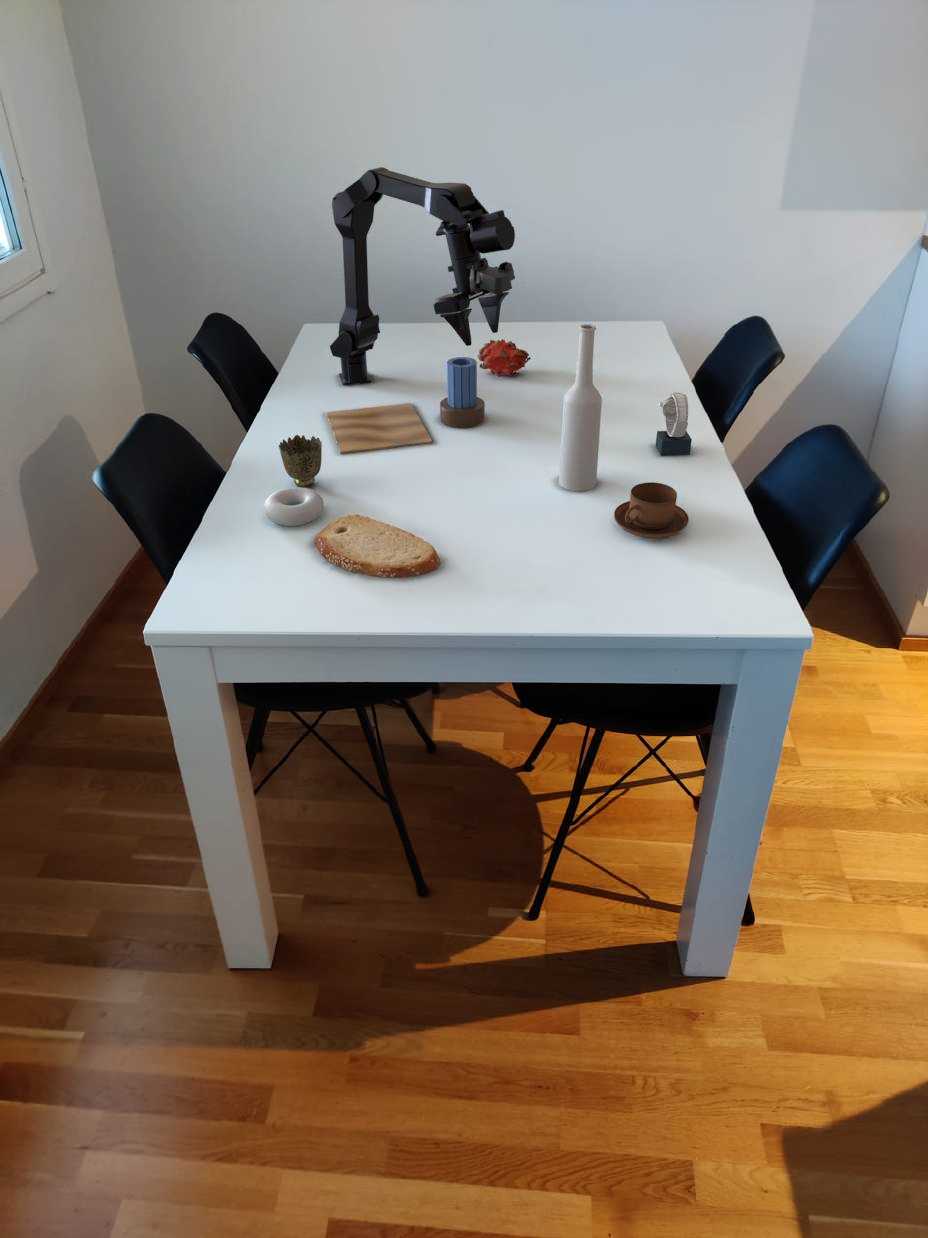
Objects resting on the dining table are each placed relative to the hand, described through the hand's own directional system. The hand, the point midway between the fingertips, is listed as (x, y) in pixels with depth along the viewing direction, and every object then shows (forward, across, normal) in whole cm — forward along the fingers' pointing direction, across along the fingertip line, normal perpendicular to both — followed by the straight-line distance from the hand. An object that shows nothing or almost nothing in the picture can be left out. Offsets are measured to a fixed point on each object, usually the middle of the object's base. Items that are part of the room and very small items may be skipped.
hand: (482, 338), depth 186 cm
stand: (+15, -5, +5) cm, 16 cm away
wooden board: (+12, -18, +17) cm, 27 cm away
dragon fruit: (+13, +21, +12) cm, 28 cm away
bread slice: (+20, -56, -13) cm, 61 cm away
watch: (+25, +5, -35) cm, 43 cm away
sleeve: (+11, -5, +4) cm, 13 cm away
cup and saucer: (+28, -24, -44) cm, 57 cm away
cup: (+13, -45, +12) cm, 48 cm away
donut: (+15, -54, +5) cm, 56 cm away
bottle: (+23, -17, -27) cm, 40 cm away
